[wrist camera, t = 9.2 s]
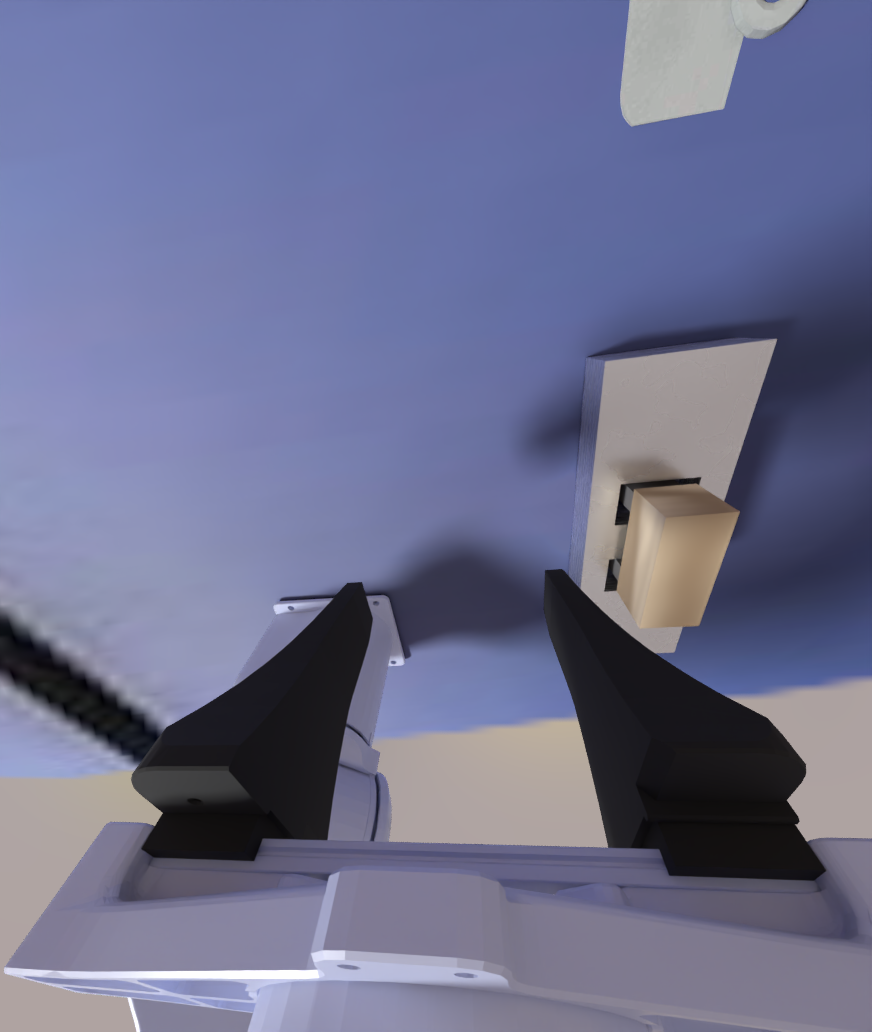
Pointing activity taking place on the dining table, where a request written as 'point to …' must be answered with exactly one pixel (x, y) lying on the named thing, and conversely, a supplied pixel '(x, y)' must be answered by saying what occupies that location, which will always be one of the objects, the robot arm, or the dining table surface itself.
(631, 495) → the clip
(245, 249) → the dining table surface
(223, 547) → the dining table surface
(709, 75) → the white tag with ring
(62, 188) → the dining table surface
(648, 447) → the grey plate with holes
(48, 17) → the dining table surface
